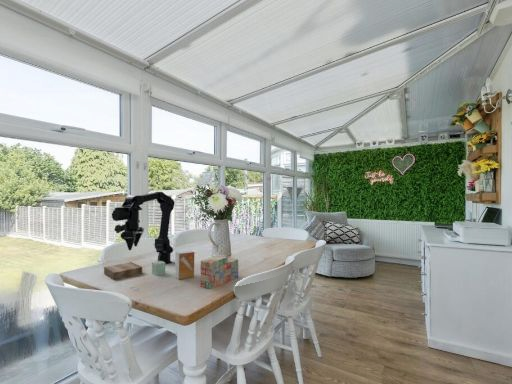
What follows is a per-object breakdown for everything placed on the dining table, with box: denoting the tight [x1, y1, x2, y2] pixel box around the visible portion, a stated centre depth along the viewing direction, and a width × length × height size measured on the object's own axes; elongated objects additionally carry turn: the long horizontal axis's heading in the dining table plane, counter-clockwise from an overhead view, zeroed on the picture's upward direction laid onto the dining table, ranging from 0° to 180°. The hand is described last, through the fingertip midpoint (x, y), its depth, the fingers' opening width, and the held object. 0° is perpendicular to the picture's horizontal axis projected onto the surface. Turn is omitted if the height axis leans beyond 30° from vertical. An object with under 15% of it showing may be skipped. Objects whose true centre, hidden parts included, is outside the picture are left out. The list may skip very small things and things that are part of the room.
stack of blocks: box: [200, 254, 239, 290], centre depth 127 cm, size 21×6×12 cm, turn 147°
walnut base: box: [103, 261, 143, 281], centre depth 136 cm, size 14×14×4 cm
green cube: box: [151, 260, 166, 277], centre depth 137 cm, size 5×5×6 cm
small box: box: [174, 249, 196, 280], centre depth 133 cm, size 8×6×13 cm
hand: (132, 248), depth 138 cm, fingers open, 9 cm apart
